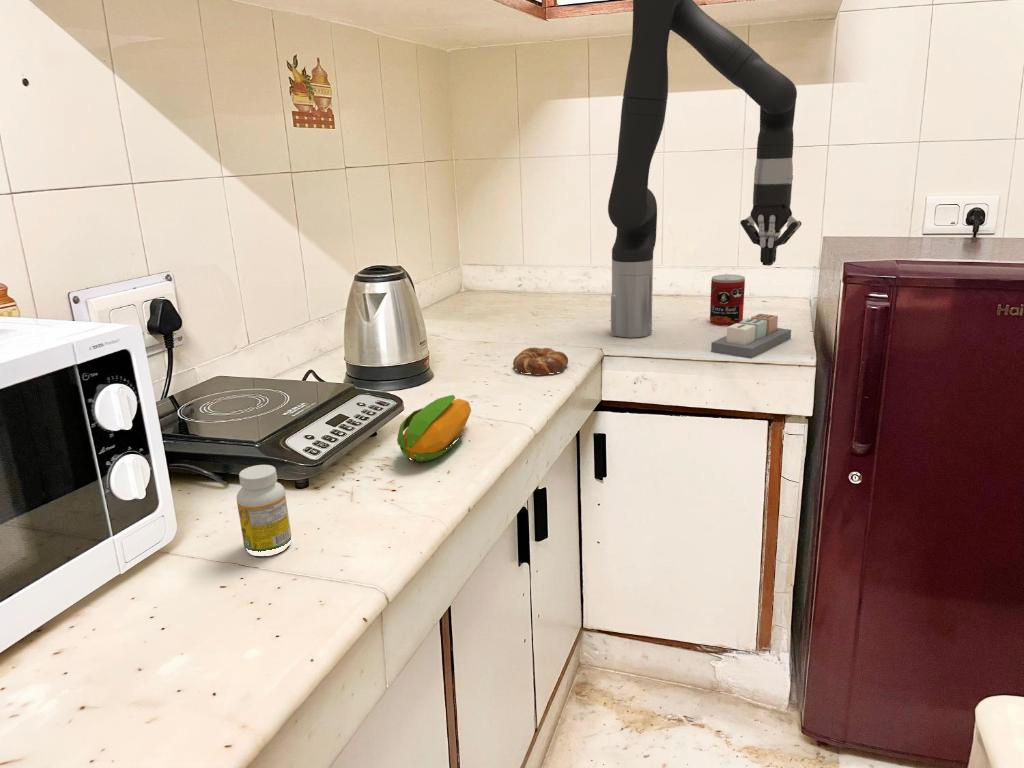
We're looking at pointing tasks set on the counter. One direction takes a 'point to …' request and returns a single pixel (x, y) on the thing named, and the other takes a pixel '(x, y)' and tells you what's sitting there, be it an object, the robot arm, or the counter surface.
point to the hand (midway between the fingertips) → (767, 264)
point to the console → (751, 344)
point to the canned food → (727, 299)
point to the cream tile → (740, 334)
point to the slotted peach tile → (768, 322)
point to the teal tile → (757, 327)
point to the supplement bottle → (262, 509)
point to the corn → (433, 428)
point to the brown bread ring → (540, 361)
